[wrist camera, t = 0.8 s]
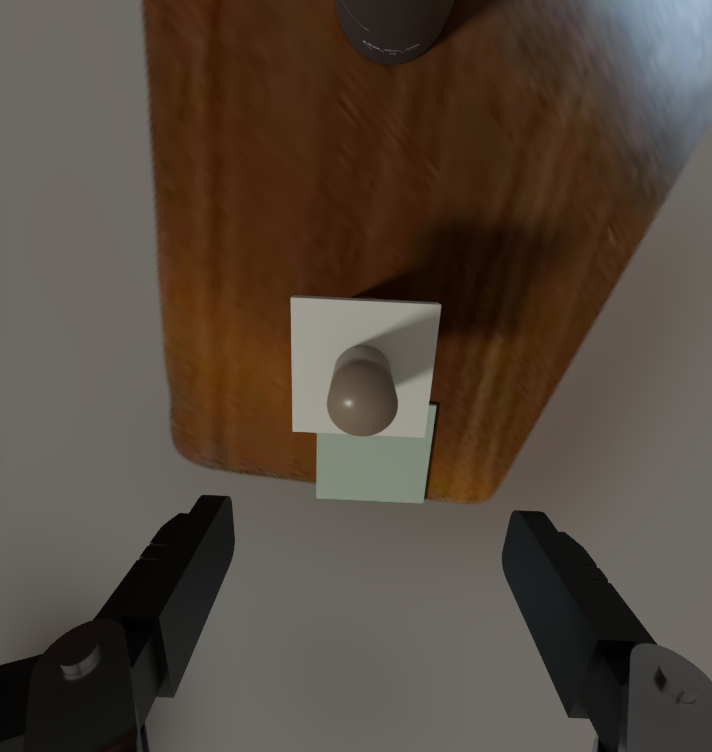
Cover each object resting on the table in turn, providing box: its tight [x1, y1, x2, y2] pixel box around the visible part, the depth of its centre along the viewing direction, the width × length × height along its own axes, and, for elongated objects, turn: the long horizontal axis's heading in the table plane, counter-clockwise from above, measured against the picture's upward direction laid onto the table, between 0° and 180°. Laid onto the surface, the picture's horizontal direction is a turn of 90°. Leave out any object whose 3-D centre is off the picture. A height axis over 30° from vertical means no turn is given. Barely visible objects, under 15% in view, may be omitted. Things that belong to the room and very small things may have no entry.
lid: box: [291, 295, 441, 438], centre depth 23 cm, size 10×10×7 cm
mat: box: [316, 404, 436, 503], centre depth 41 cm, size 13×13×1 cm
